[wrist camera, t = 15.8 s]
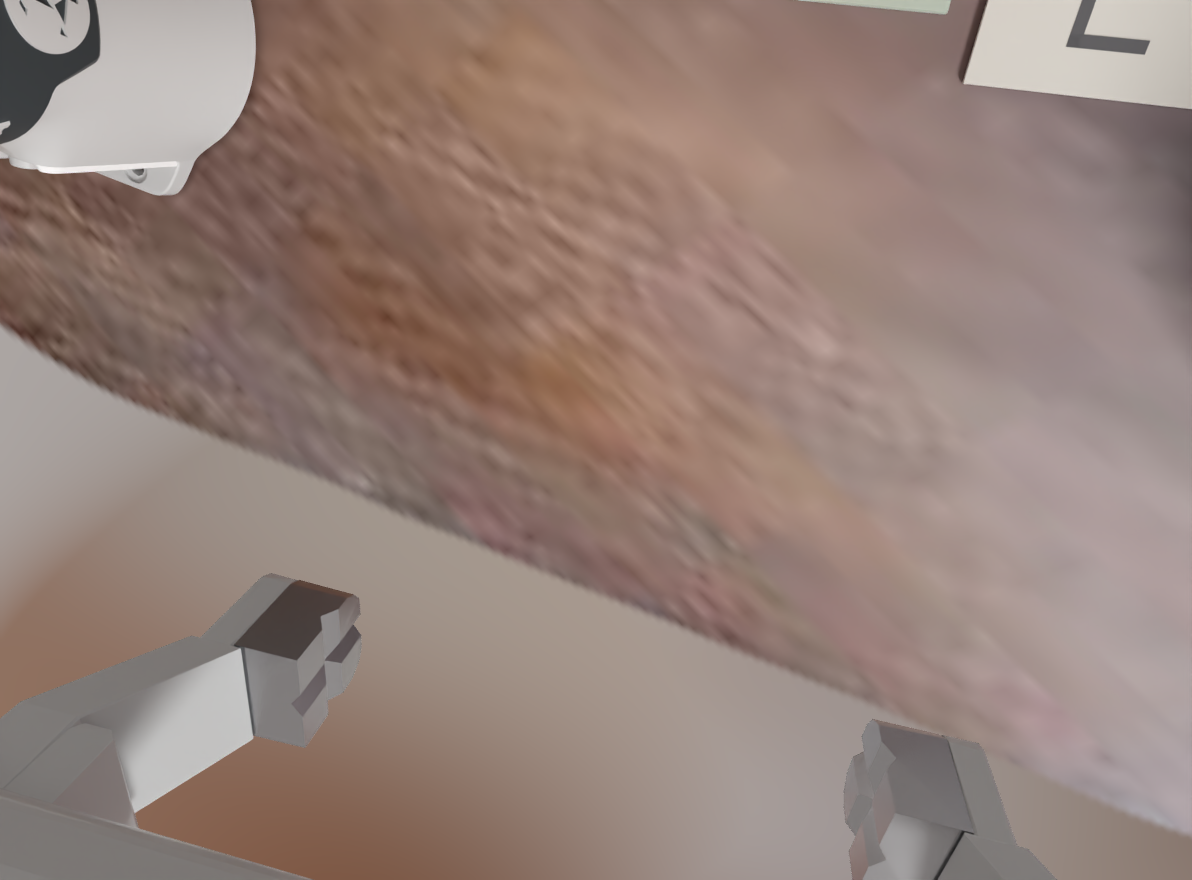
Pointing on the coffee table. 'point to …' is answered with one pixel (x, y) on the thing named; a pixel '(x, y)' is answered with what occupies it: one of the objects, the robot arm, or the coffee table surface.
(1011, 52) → the tile
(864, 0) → the coaster
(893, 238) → the coffee table surface
